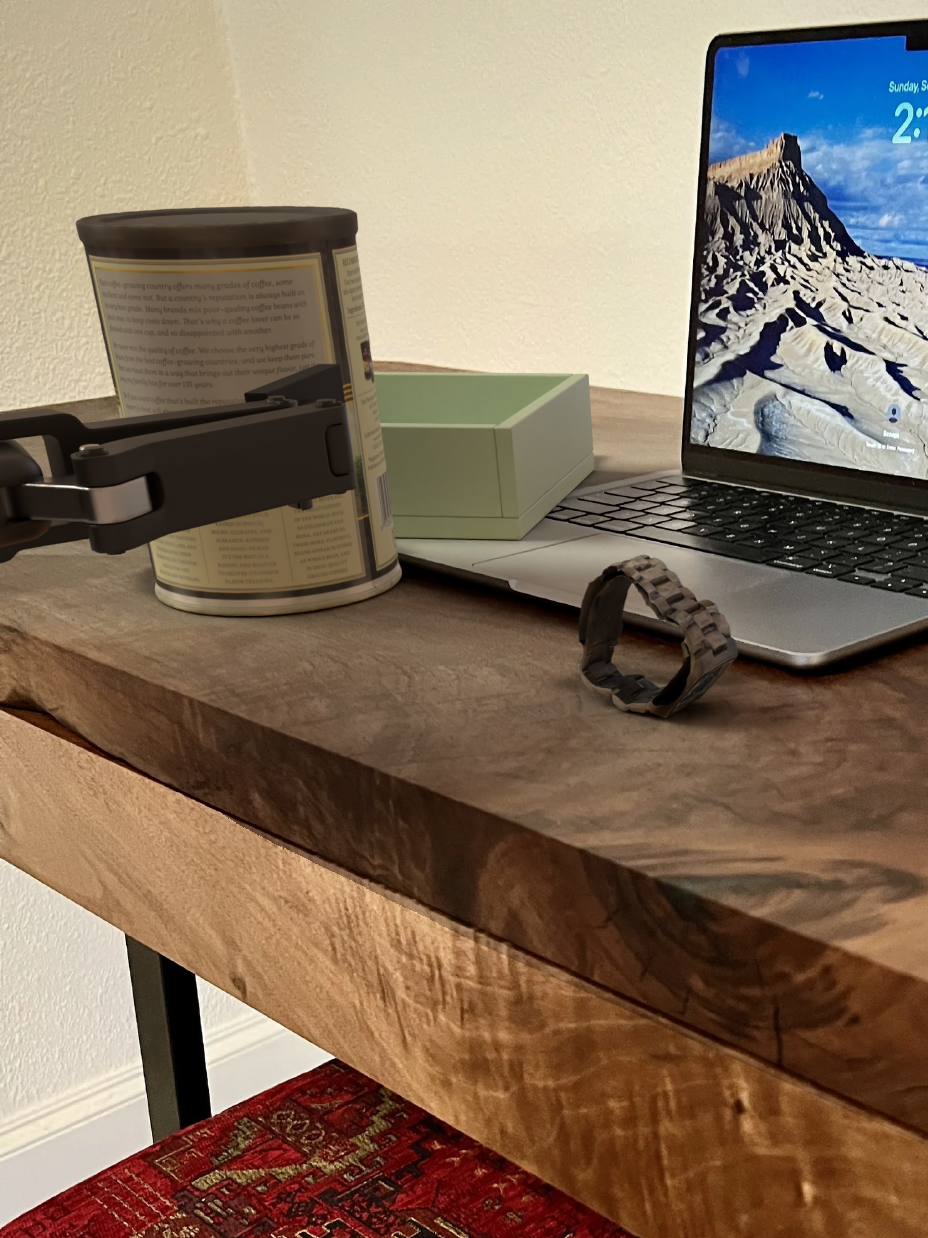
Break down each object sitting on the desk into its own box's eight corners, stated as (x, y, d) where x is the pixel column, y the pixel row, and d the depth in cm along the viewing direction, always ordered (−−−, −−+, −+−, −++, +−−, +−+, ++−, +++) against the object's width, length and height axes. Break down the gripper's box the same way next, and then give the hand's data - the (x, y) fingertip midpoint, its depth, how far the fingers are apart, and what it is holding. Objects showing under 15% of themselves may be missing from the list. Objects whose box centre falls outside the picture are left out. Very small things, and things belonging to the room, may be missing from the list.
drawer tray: (181, 533, 76) (160, 423, 74) (307, 465, 91) (293, 370, 88) (521, 540, 75) (511, 427, 72) (595, 469, 89) (588, 373, 87)
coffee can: (126, 576, 70) (48, 212, 62) (355, 544, 74) (307, 202, 67) (190, 632, 62) (110, 225, 55) (439, 593, 67) (395, 213, 60)
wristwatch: (628, 756, 54) (711, 663, 51) (543, 634, 54) (620, 534, 51) (684, 740, 56) (767, 649, 53) (602, 623, 57) (680, 526, 53)
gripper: (-646, 685, 42) (-148, 507, 60) (278, 712, 39) (504, 518, 57) (-793, 374, 38) (-214, 286, 56) (221, 382, 35) (482, 287, 53)
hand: (150, 403), depth 57 cm, fingers open, 13 cm apart
